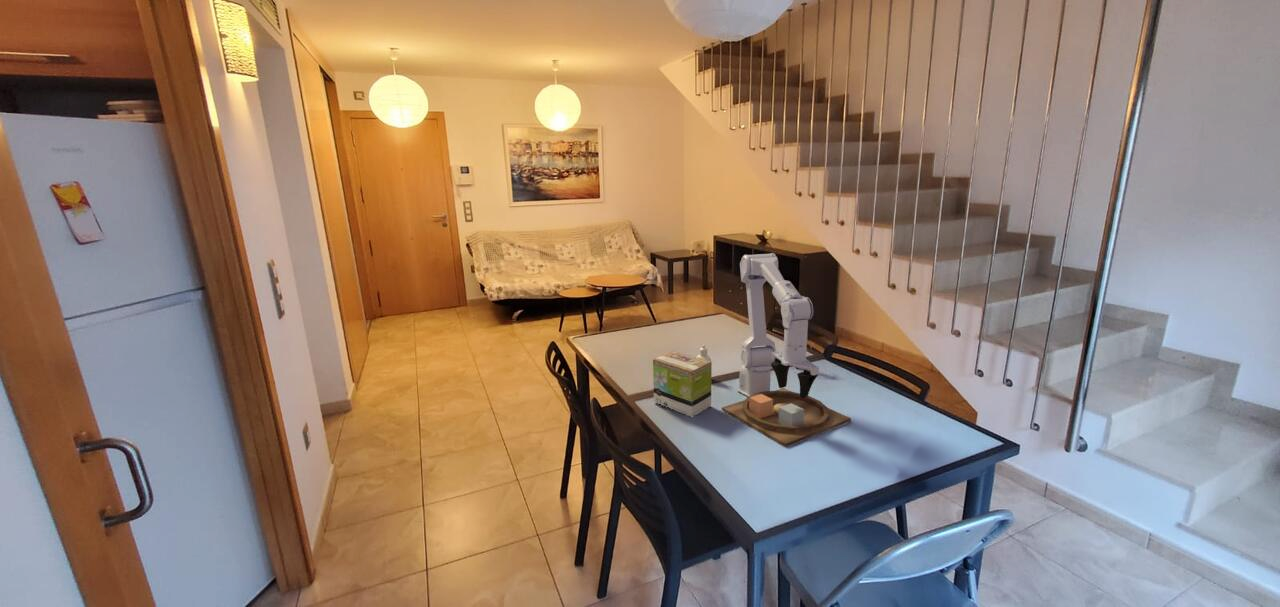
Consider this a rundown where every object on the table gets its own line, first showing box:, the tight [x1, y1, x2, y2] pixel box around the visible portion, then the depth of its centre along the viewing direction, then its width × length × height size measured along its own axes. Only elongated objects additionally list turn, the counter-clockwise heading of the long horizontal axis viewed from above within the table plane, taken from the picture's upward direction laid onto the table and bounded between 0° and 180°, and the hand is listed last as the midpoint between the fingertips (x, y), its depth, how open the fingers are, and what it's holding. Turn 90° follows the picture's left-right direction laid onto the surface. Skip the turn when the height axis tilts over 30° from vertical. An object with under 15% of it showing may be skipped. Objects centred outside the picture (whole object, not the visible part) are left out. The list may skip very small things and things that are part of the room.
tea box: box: [652, 350, 713, 418], centre depth 153 cm, size 15×10×15 cm
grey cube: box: [779, 403, 804, 426], centre depth 139 cm, size 5×5×5 cm
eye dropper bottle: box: [696, 344, 712, 362], centre depth 173 cm, size 4×6×12 cm
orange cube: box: [749, 394, 773, 419], centre depth 145 cm, size 5×5×5 cm
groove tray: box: [721, 387, 852, 448], centre depth 146 cm, size 25×25×2 cm
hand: (793, 391), depth 137 cm, fingers open, 7 cm apart
